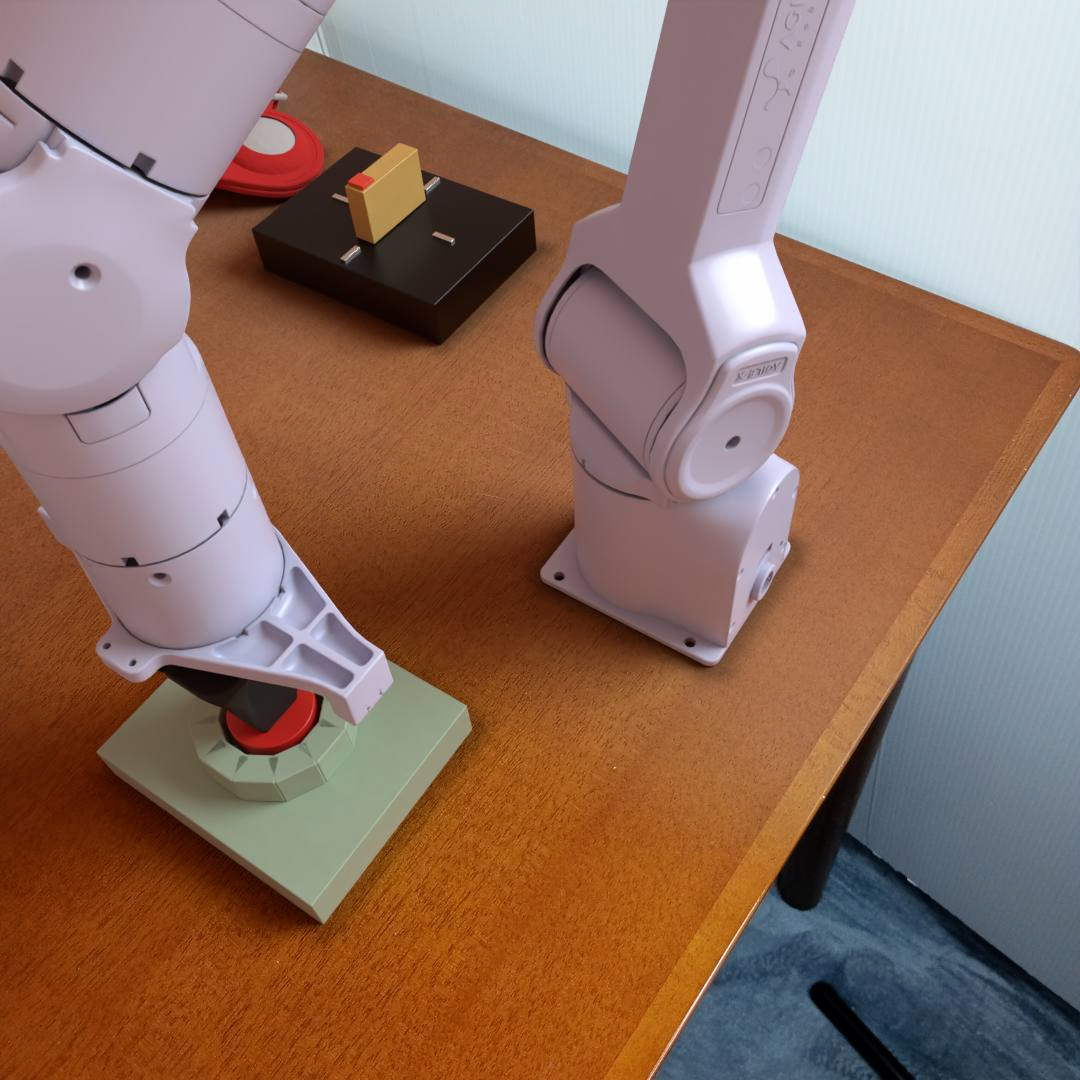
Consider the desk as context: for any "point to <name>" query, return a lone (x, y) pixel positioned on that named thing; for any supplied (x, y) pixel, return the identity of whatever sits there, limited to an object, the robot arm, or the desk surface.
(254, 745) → the alarm button
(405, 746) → the alarm block
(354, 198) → the thumb turn
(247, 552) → the robot arm
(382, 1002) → the desk surface
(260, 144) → the tracker holder
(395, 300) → the plate
